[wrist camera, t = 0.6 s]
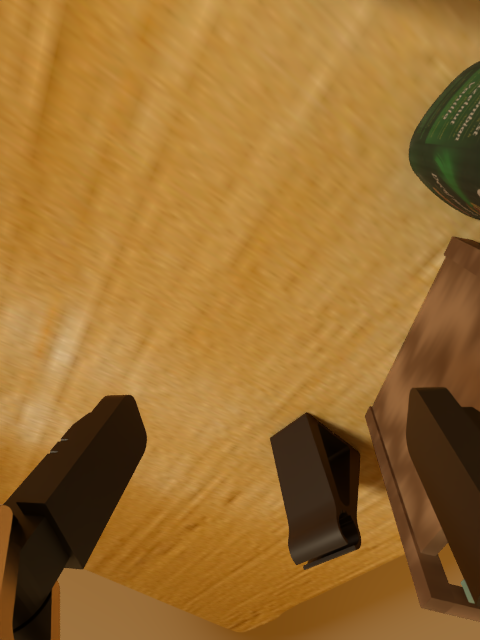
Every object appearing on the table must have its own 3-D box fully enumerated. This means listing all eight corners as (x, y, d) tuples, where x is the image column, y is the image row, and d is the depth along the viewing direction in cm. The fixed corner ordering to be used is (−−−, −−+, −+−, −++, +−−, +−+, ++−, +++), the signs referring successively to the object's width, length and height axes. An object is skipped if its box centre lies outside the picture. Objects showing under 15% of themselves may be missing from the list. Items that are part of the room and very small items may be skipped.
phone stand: (359, 452, 37) (388, 571, 26) (322, 473, 40) (334, 588, 29) (305, 411, 35) (313, 520, 25) (270, 436, 38) (262, 544, 27)
